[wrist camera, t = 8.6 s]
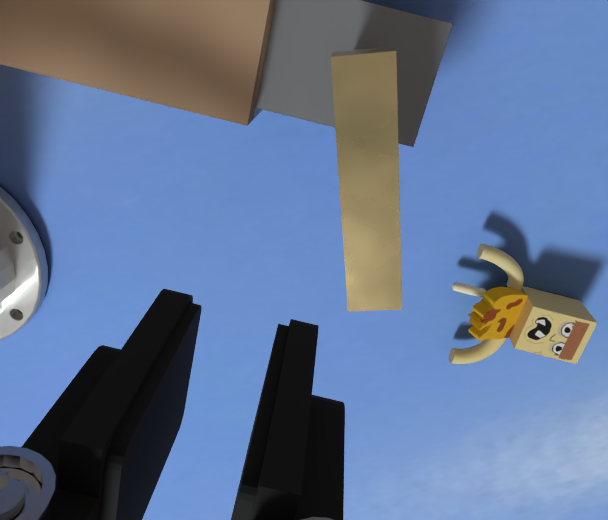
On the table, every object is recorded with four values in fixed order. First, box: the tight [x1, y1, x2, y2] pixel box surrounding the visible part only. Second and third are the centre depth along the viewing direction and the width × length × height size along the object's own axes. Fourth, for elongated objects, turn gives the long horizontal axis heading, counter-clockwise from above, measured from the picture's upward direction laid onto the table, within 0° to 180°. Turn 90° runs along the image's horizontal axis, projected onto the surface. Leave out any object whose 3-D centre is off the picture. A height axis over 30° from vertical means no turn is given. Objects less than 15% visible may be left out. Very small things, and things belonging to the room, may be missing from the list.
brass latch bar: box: [331, 46, 402, 312], centre depth 21 cm, size 2×9×6 cm, turn 6°
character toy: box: [449, 244, 597, 364], centre depth 31 cm, size 8×3×8 cm
